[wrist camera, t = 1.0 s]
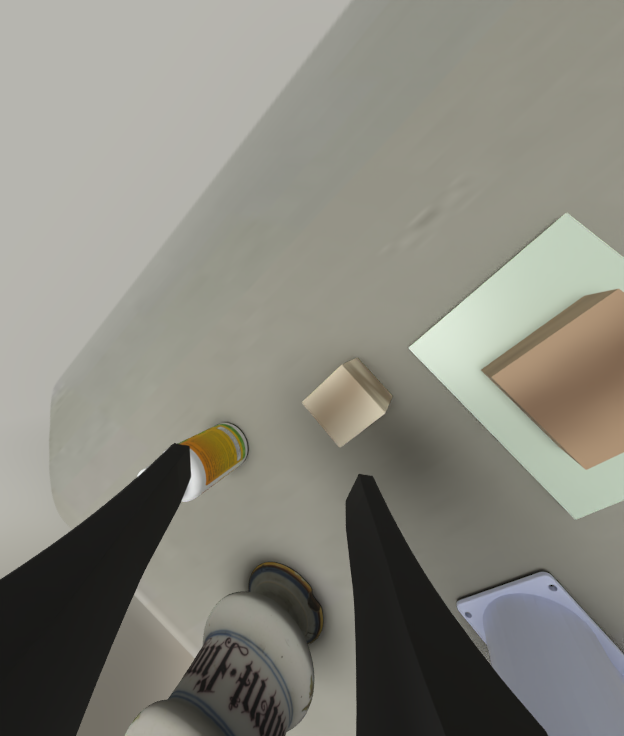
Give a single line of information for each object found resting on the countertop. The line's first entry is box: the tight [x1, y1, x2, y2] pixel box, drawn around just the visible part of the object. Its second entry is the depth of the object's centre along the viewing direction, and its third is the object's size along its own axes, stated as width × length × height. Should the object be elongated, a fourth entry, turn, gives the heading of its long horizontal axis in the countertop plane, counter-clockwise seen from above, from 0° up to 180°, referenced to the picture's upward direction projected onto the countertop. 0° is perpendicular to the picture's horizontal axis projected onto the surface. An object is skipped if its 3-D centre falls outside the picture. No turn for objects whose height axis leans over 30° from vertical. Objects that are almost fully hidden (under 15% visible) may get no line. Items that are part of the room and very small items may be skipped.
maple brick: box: [302, 358, 392, 448], centre depth 21 cm, size 4×4×5 cm
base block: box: [481, 289, 624, 470], centre depth 15 cm, size 7×7×3 cm
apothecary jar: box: [125, 562, 323, 736], centre depth 22 cm, size 12×12×18 cm
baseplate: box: [409, 213, 624, 520], centre depth 17 cm, size 16×12×1 cm
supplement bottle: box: [137, 423, 248, 502], centre depth 26 cm, size 5×5×10 cm
